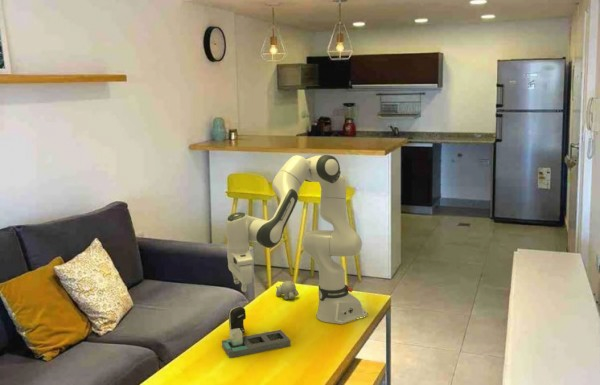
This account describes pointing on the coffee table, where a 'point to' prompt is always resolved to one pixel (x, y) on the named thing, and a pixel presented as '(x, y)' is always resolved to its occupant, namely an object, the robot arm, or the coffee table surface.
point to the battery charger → (237, 318)
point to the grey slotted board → (259, 347)
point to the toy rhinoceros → (287, 290)
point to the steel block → (236, 338)
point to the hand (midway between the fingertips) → (240, 287)
